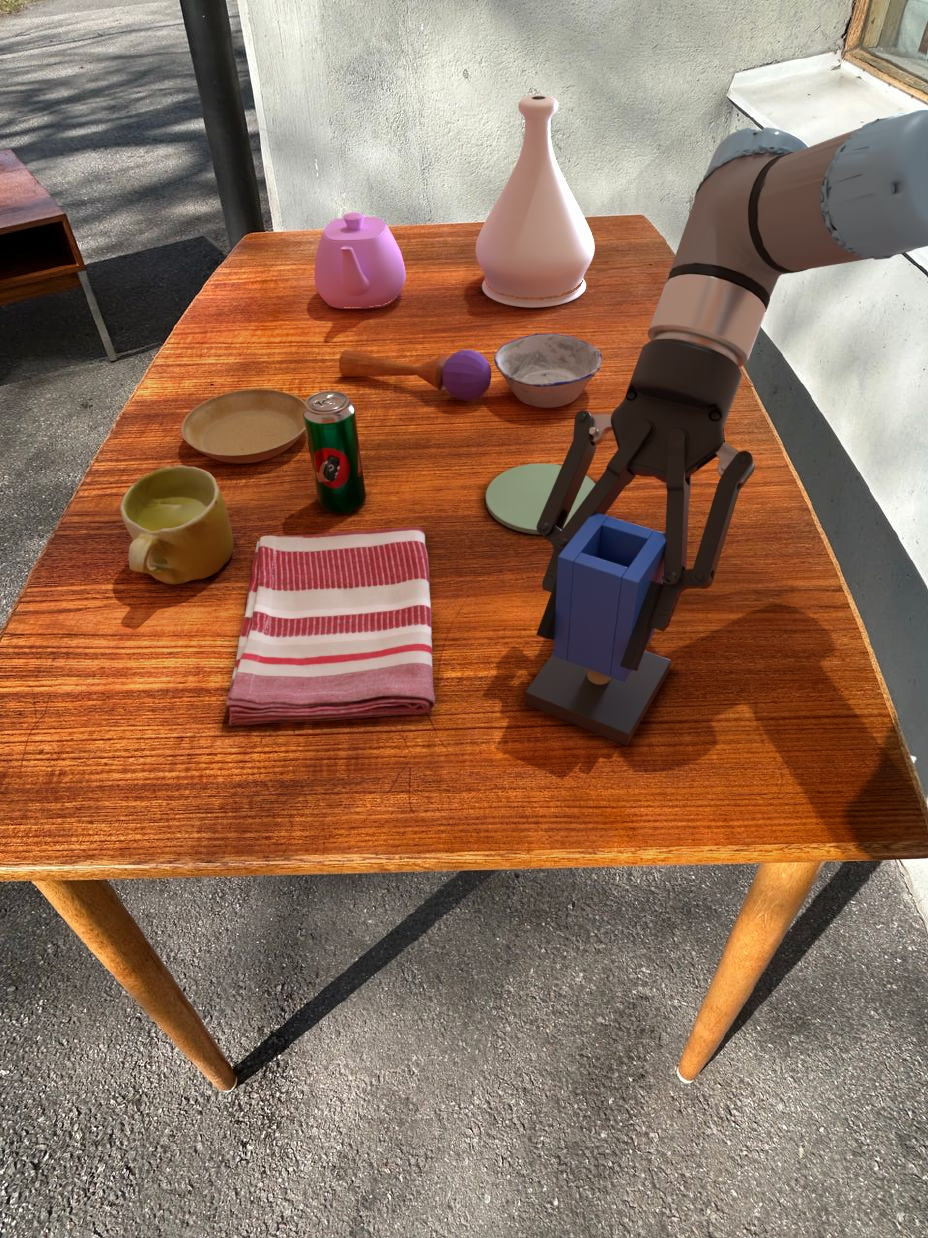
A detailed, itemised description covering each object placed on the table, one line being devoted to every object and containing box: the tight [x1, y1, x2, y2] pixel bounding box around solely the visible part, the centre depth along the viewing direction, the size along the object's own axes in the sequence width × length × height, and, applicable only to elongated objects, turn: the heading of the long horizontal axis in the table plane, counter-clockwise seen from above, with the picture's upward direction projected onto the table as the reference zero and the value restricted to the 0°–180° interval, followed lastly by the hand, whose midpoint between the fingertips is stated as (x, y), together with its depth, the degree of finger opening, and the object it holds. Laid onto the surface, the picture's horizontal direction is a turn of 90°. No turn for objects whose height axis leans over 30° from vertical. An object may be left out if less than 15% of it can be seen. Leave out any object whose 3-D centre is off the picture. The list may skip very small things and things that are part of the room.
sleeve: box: [552, 513, 666, 682], centre depth 65 cm, size 6×6×10 cm
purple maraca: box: [338, 349, 492, 402], centre depth 108 cm, size 6×6×20 cm
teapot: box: [313, 211, 407, 310], centre depth 125 cm, size 20×13×12 cm, turn 0°
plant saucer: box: [180, 388, 306, 464], centre depth 101 cm, size 15×15×3 cm
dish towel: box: [224, 526, 436, 727], centre depth 78 cm, size 17×23×3 cm
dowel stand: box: [524, 650, 672, 747], centre depth 68 cm, size 9×9×12 cm
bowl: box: [493, 333, 603, 409], centre depth 106 cm, size 13×13×5 cm
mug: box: [119, 464, 235, 585], centre depth 83 cm, size 12×10×10 cm
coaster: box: [485, 462, 596, 536], centre depth 91 cm, size 12×12×1 cm
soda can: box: [303, 390, 367, 515], centre depth 88 cm, size 5×5×12 cm
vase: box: [474, 94, 595, 308], centre depth 123 cm, size 17×17×25 cm
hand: (586, 652), depth 65 cm, fingers closed on sleeve, 6 cm apart
